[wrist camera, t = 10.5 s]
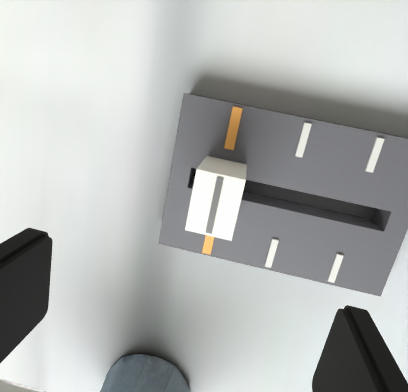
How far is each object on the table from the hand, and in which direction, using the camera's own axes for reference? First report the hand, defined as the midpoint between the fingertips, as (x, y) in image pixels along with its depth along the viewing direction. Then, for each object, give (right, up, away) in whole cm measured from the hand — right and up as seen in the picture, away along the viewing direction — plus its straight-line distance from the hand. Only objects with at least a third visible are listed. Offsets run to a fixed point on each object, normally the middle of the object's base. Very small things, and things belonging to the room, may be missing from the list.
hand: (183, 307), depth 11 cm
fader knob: (+2, +5, +17) cm, 18 cm away
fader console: (+7, +4, +17) cm, 19 cm away
